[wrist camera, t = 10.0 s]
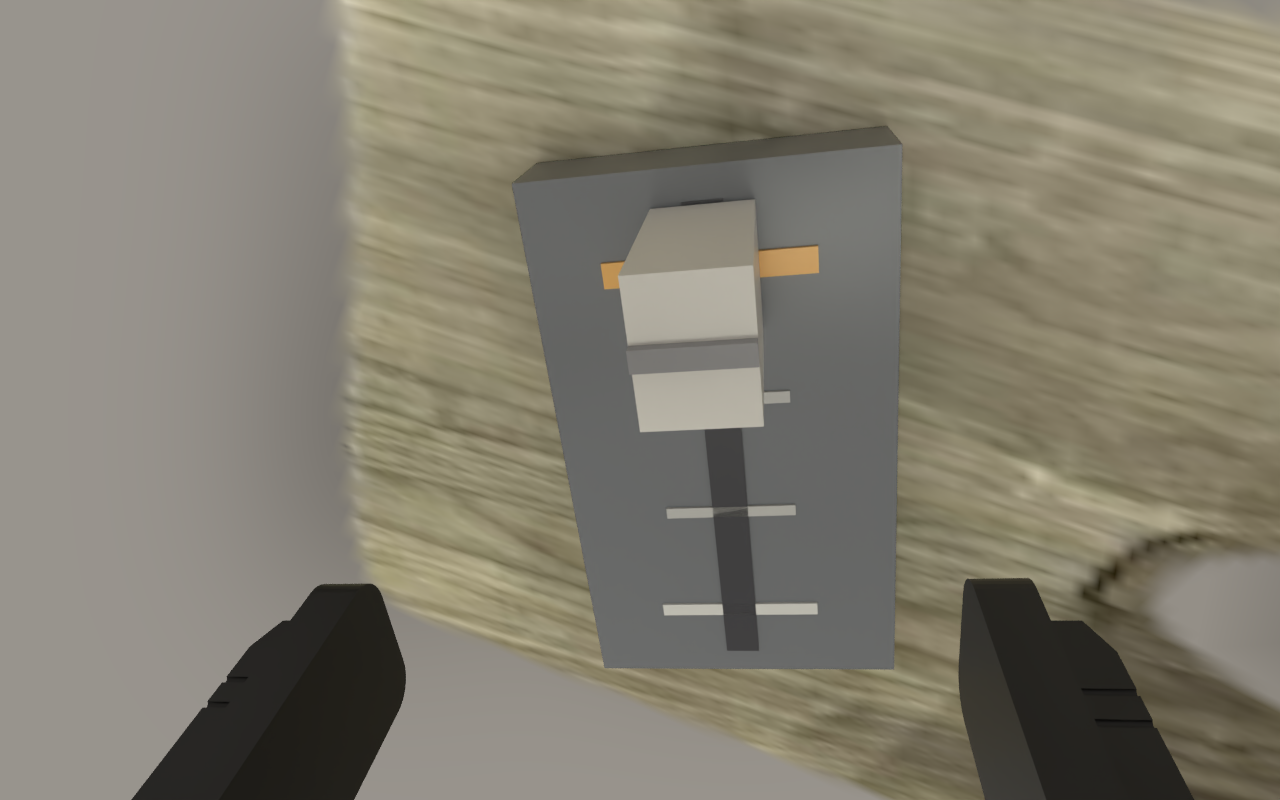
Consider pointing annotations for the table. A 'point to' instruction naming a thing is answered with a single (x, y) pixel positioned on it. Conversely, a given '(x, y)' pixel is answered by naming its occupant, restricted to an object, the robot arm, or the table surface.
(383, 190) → the table surface
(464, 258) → the table surface
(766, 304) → the console
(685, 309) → the fader
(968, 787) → the table surface
